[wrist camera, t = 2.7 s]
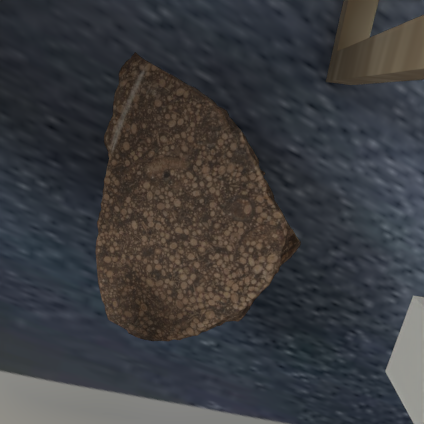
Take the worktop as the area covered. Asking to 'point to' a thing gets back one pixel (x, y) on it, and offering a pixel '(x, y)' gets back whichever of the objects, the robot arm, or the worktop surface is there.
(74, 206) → the worktop surface
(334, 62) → the frame
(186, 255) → the rock
